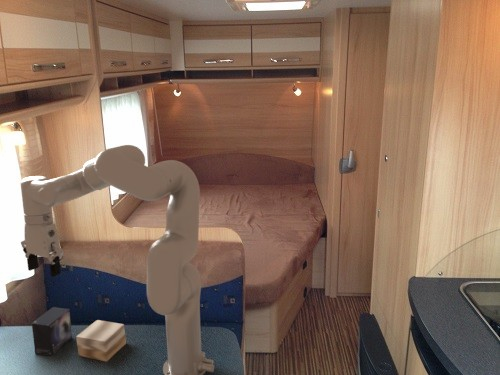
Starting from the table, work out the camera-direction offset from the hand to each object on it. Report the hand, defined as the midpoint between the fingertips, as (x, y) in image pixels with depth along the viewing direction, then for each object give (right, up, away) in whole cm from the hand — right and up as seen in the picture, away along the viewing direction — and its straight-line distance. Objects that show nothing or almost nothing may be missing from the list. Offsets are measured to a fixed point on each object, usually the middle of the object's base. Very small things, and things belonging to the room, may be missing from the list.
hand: (44, 272), depth 133 cm
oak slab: (+17, -25, +3) cm, 30 cm away
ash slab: (+17, -21, +2) cm, 27 cm away
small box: (+1, -24, +5) cm, 25 cm away
